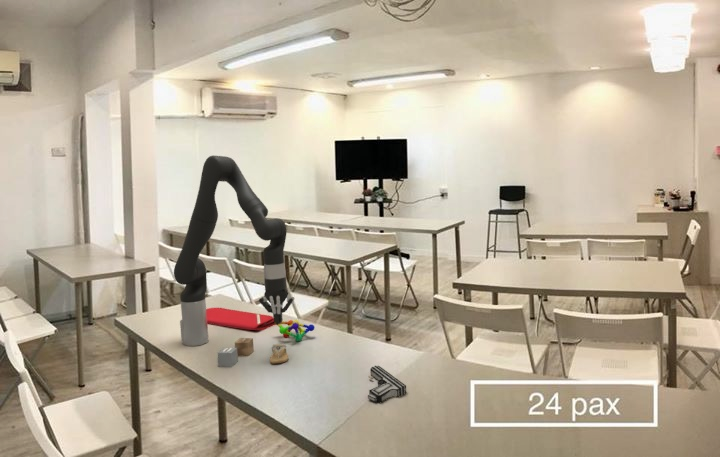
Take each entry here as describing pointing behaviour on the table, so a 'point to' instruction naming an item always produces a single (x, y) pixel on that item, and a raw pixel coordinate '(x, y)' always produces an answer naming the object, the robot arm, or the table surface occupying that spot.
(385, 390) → the handgun
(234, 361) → the slate block
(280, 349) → the sandal
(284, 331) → the decorative model
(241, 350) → the walnut block
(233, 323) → the dish drying mat
